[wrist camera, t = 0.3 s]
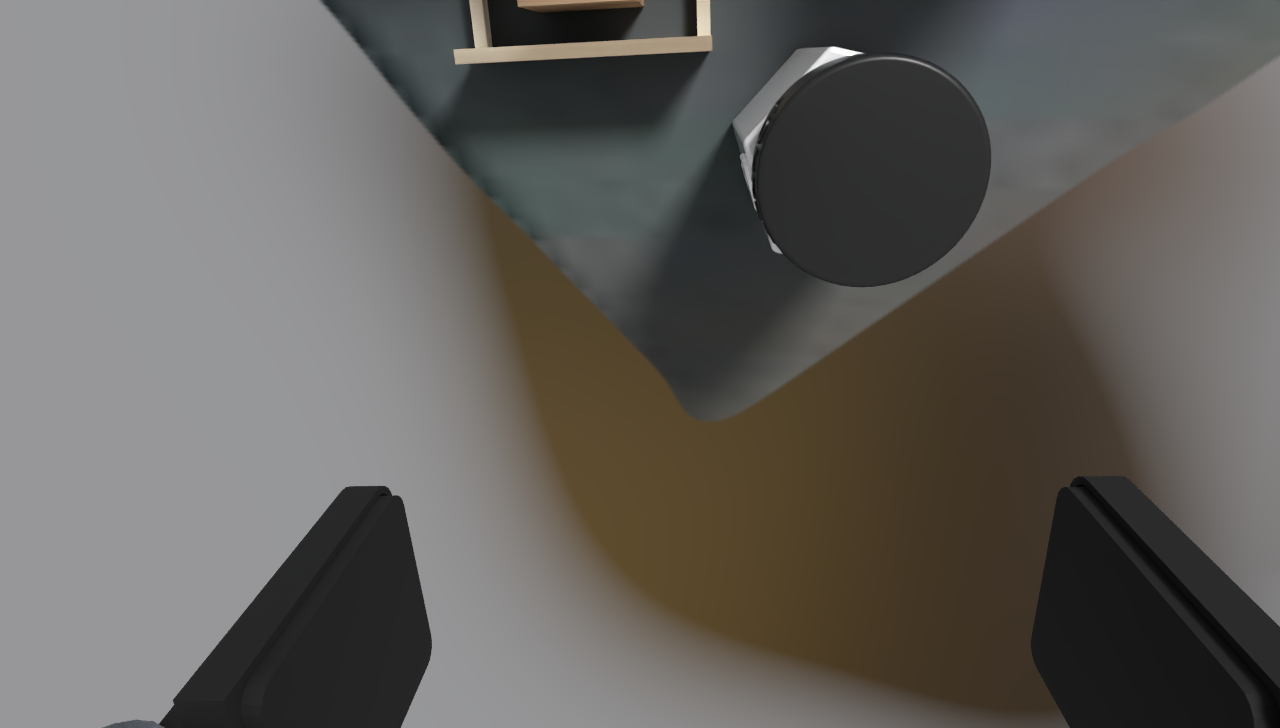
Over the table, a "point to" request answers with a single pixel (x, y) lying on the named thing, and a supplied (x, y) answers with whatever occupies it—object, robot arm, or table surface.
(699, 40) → the cubby
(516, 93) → the table surface
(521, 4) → the letter cube
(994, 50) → the table surface
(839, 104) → the jar
